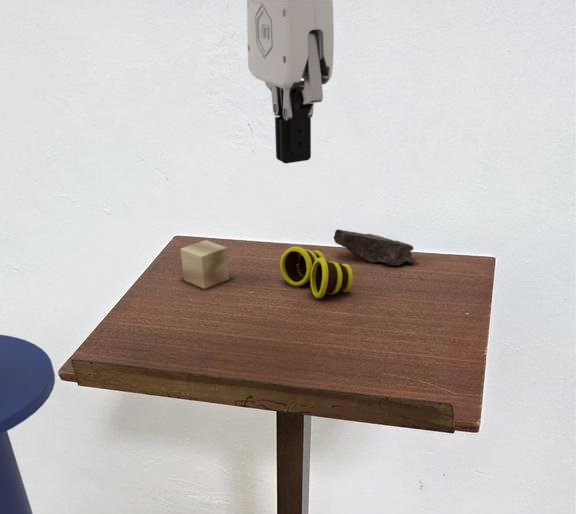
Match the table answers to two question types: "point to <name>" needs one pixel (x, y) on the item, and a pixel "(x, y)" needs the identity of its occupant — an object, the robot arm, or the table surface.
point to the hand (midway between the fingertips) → (293, 159)
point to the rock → (375, 247)
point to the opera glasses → (315, 272)
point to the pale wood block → (205, 264)
